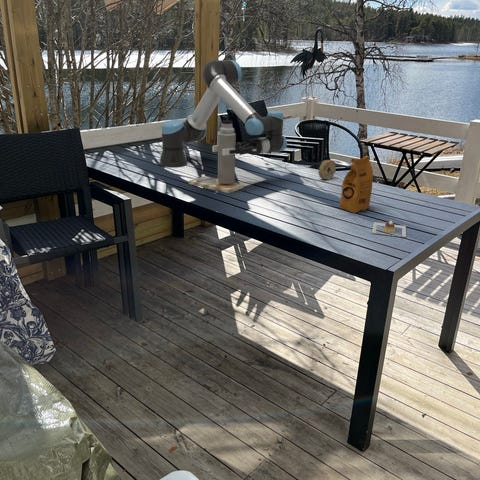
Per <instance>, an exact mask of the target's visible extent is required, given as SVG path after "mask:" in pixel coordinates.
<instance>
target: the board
mask: <svg viewBox="0 0 480 480" xmlns="http://www.w3.org/2000/svg"><path fill="white" fill-rule="evenodd" d="M188 185H192V186H195V187H196V186H197V187H201V188H206V189H209V190H214V191H217V192H222V193H225V194H226V193H227V194H230V193H233V192H236V191H238V190H241V189H244V188H245V184H243V183H239V182H233V183H229V184H225V183H219V182H218V178H215V177H210V176H206V175H204V176H200V177H196V178H194V179H190V180H188Z"/></svg>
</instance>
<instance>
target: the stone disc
mask: <svg viewBox="0 0 480 480" xmlns="http://www.w3.org/2000/svg"><path fill="white" fill-rule="evenodd" d="M336 169H337V168H336V162H335V161H334V160H332V159H325V160H323V161H322V162H321V164H320V165H319V168H318V177H319V178H320V179H323V180H325V179H328V180H330V179H329V178H331V179H332V178H333V177H334V175H335V174H336Z"/></svg>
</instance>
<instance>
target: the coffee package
mask: <svg viewBox="0 0 480 480" xmlns="http://www.w3.org/2000/svg"><path fill="white" fill-rule="evenodd" d="M350 162H352V165H351V166H350V170H349V171H348V172H347V173H346V175H345V177H344V179H343V181H342V185H341V195H340V202H339V206H340V209H341V210H344V211H347V212H350V213H353V214H355V213H359V212H360V211H366V210H367V209H369V208H370V203H371V196H372V190H373V180H374V179H373V178H374V169H373V167H372V164H371V163H372V162H371V161H370V158H369V155H365V156H363V157H362V158H357V157H356V158H354V157H353V158H352V159H351V160H350Z"/></svg>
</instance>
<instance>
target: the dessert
mask: <svg viewBox="0 0 480 480" xmlns="http://www.w3.org/2000/svg"><path fill="white" fill-rule="evenodd" d="M372 225H373V226H372V231H371V233H372V234H374V235H375V234H376V235H382V236H390V237H398V238H406V237H407V226H406V225H401V224H395V223H393V221H392V220H389V221H387V222H386V223H383V222H375V221H374V222H373V224H372ZM377 226H383V229H382V231H383V232H385V233H382V232H381V233H380V232H377ZM397 228H398V229H401V233H402V234H401V235H395V234H394V233H396V229H397ZM388 233H389V234H388Z"/></svg>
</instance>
